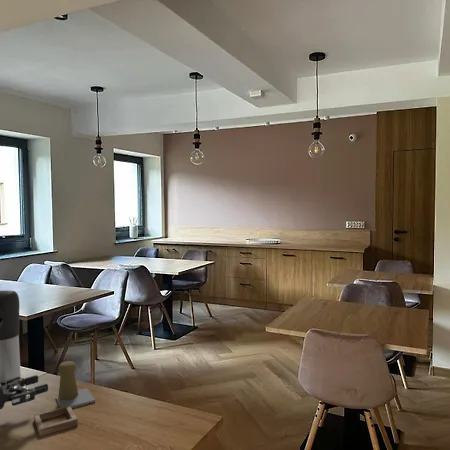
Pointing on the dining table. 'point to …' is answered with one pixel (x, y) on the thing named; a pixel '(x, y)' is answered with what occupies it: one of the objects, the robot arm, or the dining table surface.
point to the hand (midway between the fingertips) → (42, 382)
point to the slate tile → (77, 399)
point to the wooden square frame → (56, 426)
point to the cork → (67, 381)
